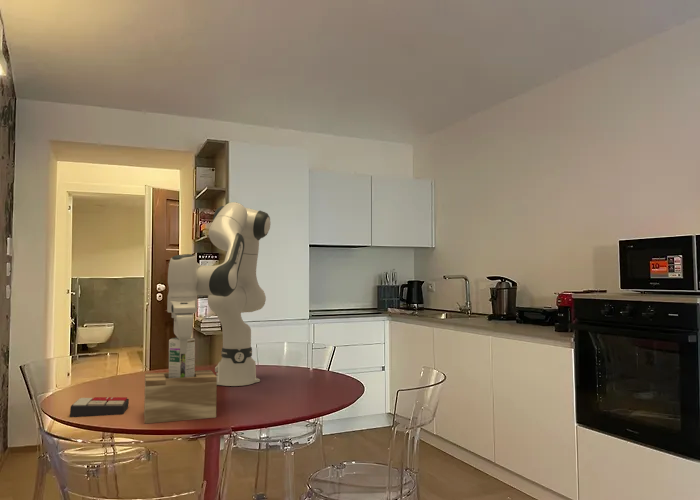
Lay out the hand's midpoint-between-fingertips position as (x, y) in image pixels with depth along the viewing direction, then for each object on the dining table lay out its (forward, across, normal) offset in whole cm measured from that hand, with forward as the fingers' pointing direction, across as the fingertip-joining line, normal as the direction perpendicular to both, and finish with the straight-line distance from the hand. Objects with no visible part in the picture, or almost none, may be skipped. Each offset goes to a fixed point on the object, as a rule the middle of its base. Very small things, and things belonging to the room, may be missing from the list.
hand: (181, 351), depth 166 cm
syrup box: (+10, 0, 0) cm, 11 cm away
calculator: (+20, -14, -23) cm, 33 cm away
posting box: (+19, 0, 0) cm, 19 cm away
